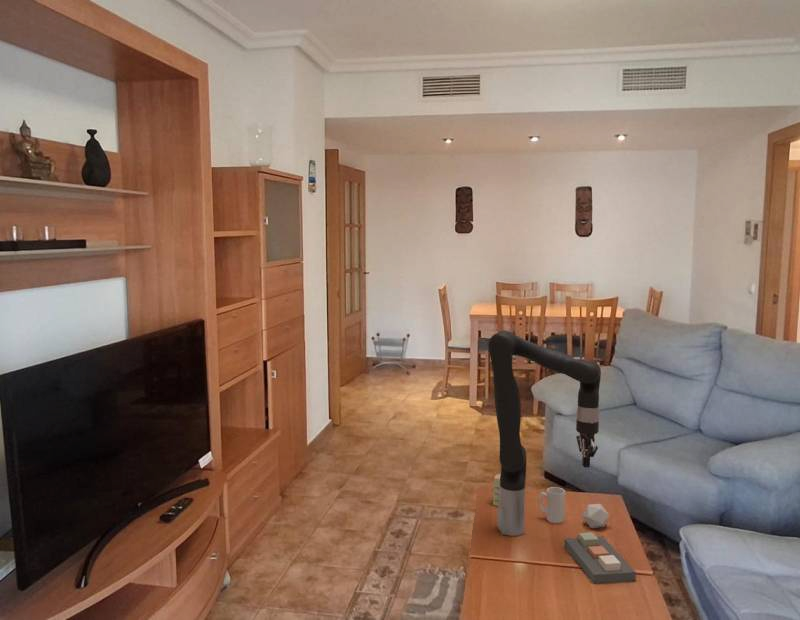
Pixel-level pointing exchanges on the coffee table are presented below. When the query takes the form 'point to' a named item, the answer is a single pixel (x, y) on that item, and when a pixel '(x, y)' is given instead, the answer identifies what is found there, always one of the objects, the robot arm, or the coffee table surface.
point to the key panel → (592, 566)
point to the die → (595, 515)
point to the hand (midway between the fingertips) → (585, 466)
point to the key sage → (588, 539)
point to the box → (496, 490)
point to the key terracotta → (597, 551)
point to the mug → (553, 504)
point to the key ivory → (609, 563)
